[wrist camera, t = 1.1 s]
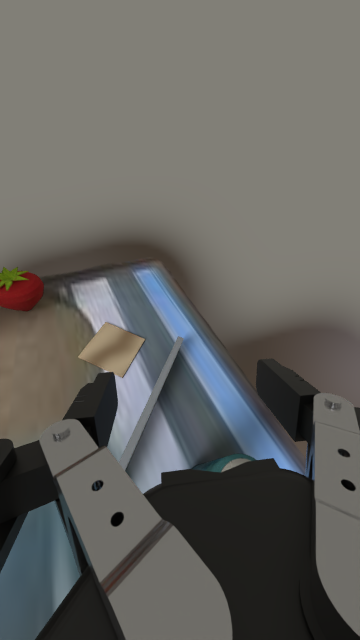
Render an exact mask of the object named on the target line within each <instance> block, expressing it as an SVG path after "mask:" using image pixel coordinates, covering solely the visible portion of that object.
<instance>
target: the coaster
mask: <svg viewBox="0 0 360 640" xmlns="http://www.w3.org/2000/svg"><path fill="white" fill-rule="evenodd" d="M144 341H145V339H143V338H141V337H139V336H136V335H134V334H132V333H130V332H127V331H125V330H123V329H120V328H118V327H116V326H114V325H111V324H109V323H107V322H105V324H104V325H103V326H102V327H101V329H100V330H99V331H98V332H97V334H96V335H95V336H94V337H93V339H92V340H91V341H90V342H89V344H88V345H87V346H86V347H85V349H84V350H83V351H82V352H81V354H80V355H79V356H78V358H80V359H83V360H85V361H87V362H89V363H91V364H94V365H96V366H98V367H100V368H102V369H104V370H107V371H109V372H114V374H115V375H118V376H120V377H122V378H123V376H124V374H125V373H126V371H127V369H128V368H129V366H130V364H131V363H132V361H133V359H134V357H135V356H136V354H137V352H138V351H139V349H140V347H141V346H142V344H143V342H144Z"/></svg>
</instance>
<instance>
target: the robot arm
mask: <svg viewBox="0 0 360 640" xmlns="http://www.w3.org/2000/svg"><path fill="white" fill-rule="evenodd" d="M256 388H257V392H258V395H259V396H260V398H261V399H262V400H263V401H264V403H265V404H266V405H267V407H268V408H269V409H270V410H271V412H272V413H273V414H274V416H275V417H276V418H277V419H278V421H279V422H280V423H281V425H282V426H283V427H284V429H285V430H286V431H287V432H288V434H289V435H290V436H291V438H292V439H293V440H294V441H295V442H296V441H305V440H306V441H307V442H308V444H307V454H306V474H305V476H304V475H302V474H299V473H297V472H294V471H291V470H286V469H281V468H279V467H278V465H277V463H276V462H275V460H274V458H271V459H264V460H256V461H248V462H245V463H243V464H240V465H238V466H235V467H233V468H231V469H228V470H226V471H223V472H211V471H202V470H194V469H187V470H179V471H171V472H163V473H161V482H162V483H161V484H159V485H157V486H155V487H153V488H151V489H150V490H148V491H147V492H145V493H144V494H142V493H141V491H140V490H139V489H138V487H137V486H136V485H135V483H134V482H133V481H132V480H131V478H130V477H129V476H128V474H127V473H126V472H125V470H124V469H123V468H122V467H121V465H120V464H119V463H118V461H117V460H116V459H115V457H114V456H113V455H112V454H111V452H110V451H109V450H108V448H107V446H108V442H109V438H110V434H111V431H112V427H113V423H114V419H115V416H116V412H117V407H118V398H117V390H116V382H115V375H114V372H106V373H98V375H97V377H96V379H95V381H94V383H88V384H87V385H86V386H84V387H83V388H82V389H81V390H80V391H79V393H78V395H77V397H76V398H75V400H74V401H73V403H72V405H71V406H70V408H69V410H68V411H67V413H66V415H65V416H64V418H63V420H62V421H59V422H57V423H55V424H53V425H51V426H49V427H48V428H47V429H46V430H45V431H44V432H43V433H42V434H41V436H40V439H39V440H38V441H35V442H32V443H29V444H26V445H23V446H20V447H17V448H14V446H13V442H12V441H11V440H9V439H0V572H1V570H2V568H3V566H4V564H5V561H6V559H7V557H8V555H9V553H10V551H11V548H12V546H13V544H14V542H15V540H16V538H17V535H18V533H19V531H20V529H21V527H22V525H23V522H24V520H25V518H26V516H27V514H28V512H29V511H31V510H33V509H36V508H38V507H40V506H43V505H45V504H47V503H50V502H52V501H55V504H56V507H57V510H58V512H59V515H60V518H61V521H62V523H63V526H64V529H65V532H66V534H67V537H68V540H69V543H70V546H71V549H72V552H73V555H74V559H75V562H76V565H77V568H78V571H79V574H80V578H79V579H78V580H77V582H76V583H75V585H74V586H73V587H72V589H71V590H70V592H69V593H68V594H67V596H66V597H65V599H64V600H63V601H62V603H61V604H60V606H59V607H58V608H57V610H56V611H55V612H54V614H53V615H52V617H51V618H50V619H49V621H48V622H47V624H46V625H45V626H44V628H43V629H42V631H41V632H40V633H39V635H38V636H37V638H36V639H35V640H360V408H356V407H354V406H353V405H352V404H351V403H350V402H349V401H348V400H346V399H344V398H342V397H340V396H337V395H334V394H329V393H320V392H319V391H318V390H317V389H316V388H314V387H313V386H312V385H310V384H309V383H308V382H306V381H304V379H303V378H301V377H299V375H298V374H296V373H295V372H294V371H293V370H290V369H288V368H286V367H284V366H281V365H280V364H279V363H278V362H277V361H275V360H274V359H263V360H259V361H258V363H257V378H256Z"/></svg>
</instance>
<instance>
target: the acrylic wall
mask: <svg viewBox="0 0 360 640" xmlns="http://www.w3.org/2000/svg"><path fill="white" fill-rule="evenodd" d="M183 339H184V338H181V337H179V336H178V338H177V340H176V342H175V344H174V346H173V349H172V351H171V353H170V355H169V357H168V359H167V361H166V363H165V366H164V368H163V370H162V372H161V374H160V376H159V378H158V380H157V383H156V385H155V387H154V389H153V391H152V393H151V395H150V398H149V400H148V402H147V404H146V406H145V408H144V410H143V412H142V415H141V417H140V419H139V421H138V423H137V425H136V427H135V429H134V432H133V434H132V436H131V438H130V440H129V442H128V444H127V446H126V449H125V451H124V453H123V455H122V457H121V459H120V461H119V464H120V465H121V467H122V468H123V469H124V470H125V471H126V469H127V466H128V464H129V462H130V460H131V457H132V455H133V453H134V451H135V448H136V446H137V444H138V442H139V439H140V437H141V435H142V433H143V430H144V428H145V426H146V424H147V421H148V419H149V417H150V415H151V412H152V410H153V408H154V406H155V403H156V401H157V399H158V396H159V394H160V392H161V390H162V387H163V385H164V383H165V381H166V378H167V376H168V374H169V372H170V369H171V367H172V365H173V363H174V360H175V358H176V356H177V354H178V351H179V349H180V347H181V344H182V342H183Z"/></svg>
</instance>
